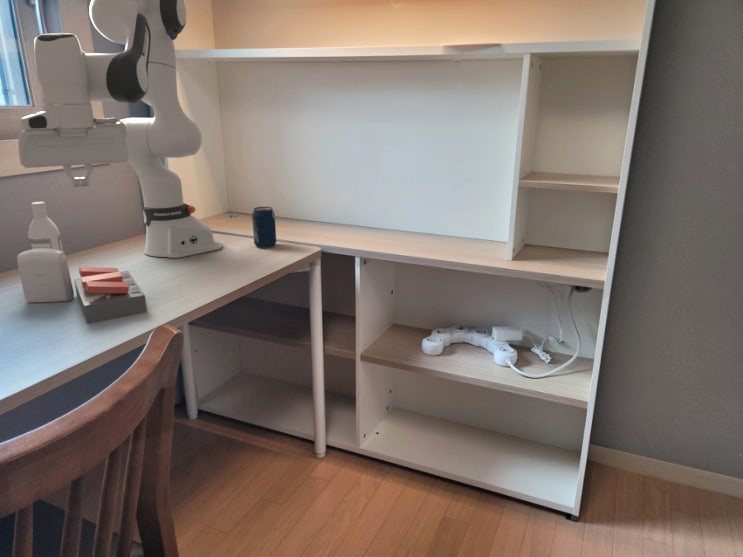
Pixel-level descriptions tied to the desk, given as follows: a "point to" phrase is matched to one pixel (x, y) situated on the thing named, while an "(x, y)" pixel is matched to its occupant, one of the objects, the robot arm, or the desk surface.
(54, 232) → the bath foam
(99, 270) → the block
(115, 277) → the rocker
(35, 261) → the photo printer
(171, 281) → the desk surface
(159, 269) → the desk surface
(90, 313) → the rocker switch panel
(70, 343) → the desk surface
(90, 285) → the block
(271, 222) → the soda can
